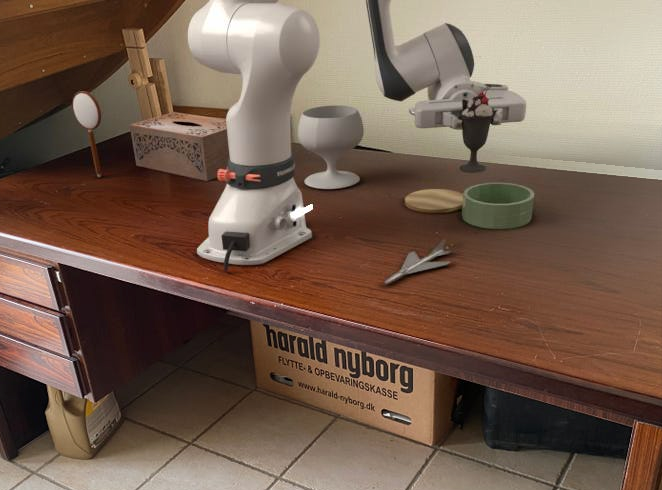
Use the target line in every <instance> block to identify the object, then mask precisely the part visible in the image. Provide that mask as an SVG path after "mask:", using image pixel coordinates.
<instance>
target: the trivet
mask: <svg viewBox="0 0 662 490" xmlns="http://www.w3.org/2000/svg"><path fill="white" fill-rule="evenodd" d="M404 205H405V206H406V207H407V208H408V209H410V210H413V211H416V212H419V213H426V214H445V213H451V212H455V211H459V210H462V205H463V193H461V192H459V191H456V190H451V189H447V188H446V189H445V188H430V189H429V188H428V189H421V190H417V191H413V192H411V193H408V194H407V195H406V196H405V198H404Z"/></svg>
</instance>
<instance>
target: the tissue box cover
mask: <svg viewBox="0 0 662 490" xmlns="http://www.w3.org/2000/svg"><path fill="white" fill-rule="evenodd" d="M129 131H130V135H131V141H132V147H133V153H134V159H135V164H136V165H135V166H136V167H137V166H138V167H141V168H146V169H150V170H154V171H160V172H164V173H168V174H172V175H177V176H183V177H186V178H187V177H188V178H191V179H196V180H200V181H203V182H204V181H205V182H209V181H212V180H214V179H216V178H217V179H218V177H217V173H218V170H219V169H224V170H227V165H228V160H229V158H230V155H229V145H228V135H227V125H226V118H218V117H210V116H204V115H197V114H191V113H190V114H189V113H183V112H177V111H172V112H168V113H166V114H162V115H159V116H155V117H151V118H148V119H145V120H142V121H138V122H135V123H131V124H129Z"/></svg>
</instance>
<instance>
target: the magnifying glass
mask: <svg viewBox="0 0 662 490" xmlns="http://www.w3.org/2000/svg"><path fill="white" fill-rule="evenodd" d="M71 108H72V114H73V117H74V118H75V121H76V122H77V123H78V124H79V125H80V126H81V127H82V128H84V129H85V130H88V131H87V134H88V139H89V145H90V148H91V149H90V150H91V153H92V159H93V164H94V169H95V174H96V175H97V177H98V178H101V177H102V169H101V164H100V159H99V154H98V148H97V145H96V139H95V132H94V131H93V130H95V129H97V128H98V127H99V126H100V123H101V122H102V111H101V107H100V104H99V101H97V99H96V97H94V95H93V94H91V93H90V92H89V91H86V90H80V91H77V92H76V93H75V94H74V95H73V96H72V100H71Z"/></svg>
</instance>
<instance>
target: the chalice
mask: <svg viewBox="0 0 662 490" xmlns="http://www.w3.org/2000/svg"><path fill="white" fill-rule="evenodd" d="M364 130H365V128H364V123H363V118H362V116H361V113H360V112H359V110H358V109H357V108H356V107H353V106H350V105H336V104H335V105H322V106H316V107H312V108H311V107H310V108H308V109H306V110H304V111H303V112H302V113H301V116H300V118H299V121H298V127H297V139H298V141H299V144H300V145H301V146H302V147H303V148H304V149H306V150H307V151H309V152H311V153H313V154H314V155H317V156H319V157H320V158H322V159H323V160H324V161H325V163H326V166H327V168H326V170H325V171H320V172H315V173H313V174H310V175H309V176H307V177H306V178H305V179H304V184H305V185H306V186H308V187H311V188H315V189H320V190H322V189H323V190H334V189H335V190H336V189H343V188H347V187H351V186H353V185H356V184H357V183H359V182H360V180H361V178H360V176H359V175H357V174H356V173H354V172H351V171H345V170H337V162H338V160H339V159H340V158H341V157H342V156H343V155H345V154H346V153H348V152H350V151H351V150H353V149H354V148H356V147H357V146H358V145H360V143H361V142H362V141H363V137H364V133H365V131H364Z"/></svg>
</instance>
